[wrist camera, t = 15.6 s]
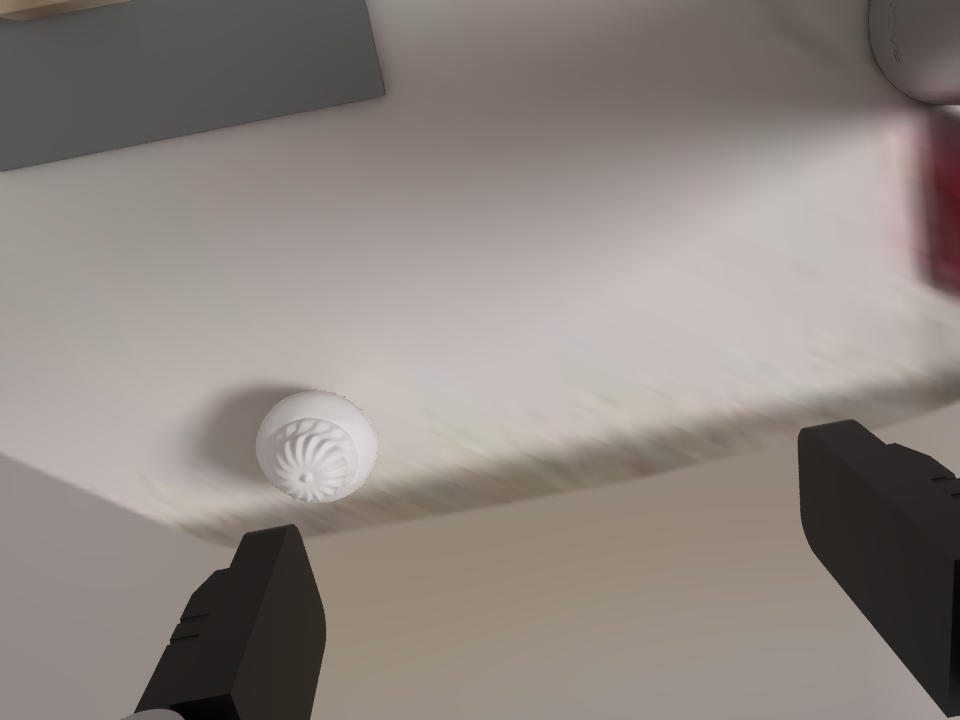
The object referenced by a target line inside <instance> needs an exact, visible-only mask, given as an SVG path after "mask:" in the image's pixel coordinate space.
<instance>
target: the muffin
mask: <svg viewBox="0 0 960 720" xmlns="http://www.w3.org/2000/svg"><path fill="white" fill-rule="evenodd" d="M377 454H378V440H377V435H376V432H375V430H374V427H373V426H372V424H371V422H370V421H369V419H368V417H367V416H366V415H365V414H364V412H363V410H362V409H360V408H359V407H358V406H357V405H356V403H355V402H352V401H350V400H348V399H347V397H346V396H344V397H342V396H340V395H338V393H337V392H335V393H332V392H328V391H327V390H325V391H319V390H317V389H315V390H314V391H310V390H307V391H305V392H300V393H296V394H293V395H290V396H288V397H286V398H284V399H283V400H281V401H280V402H278V403H277V404H276V405H275V406H274V407H273V408H272V409H271V410H270V411H269V412H268V414H267V415H266V417H265V418H264V420H263V422H262V424H261V426H260V428H259V431H258V434H257V438H256V456H257V460H258V463H259V465H260V467H261V470H262V471H263V473H264V475H265V476H266V477H267V479H268V480H269V481H270V482H271V483H272V484H273V485H274V486H275V487H276V488H278V489H279V490H280V491H282V492H284V493H286V494H288V495H290V496H291V497H292V498H293V499H300V500H303V501H305V502H306V503H308V502H314V503H325V502H331V501H335V500H338V499H341V498H343V497H345V496H347V495H349V494H351V493H352V492H354V491H355V490H357V489H358V488H359V487H360V486H361V485H362V484H363V483H364V482H365V481H366V480H367V478H368V477H369V475H370V473H371V471H372V469H373V467H374V465H375V462H376V458H377Z"/></svg>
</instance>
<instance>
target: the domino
mask: <svg viewBox="0 0 960 720" xmlns="http://www.w3.org/2000/svg"><path fill="white" fill-rule="evenodd" d="M126 1H131V0H0V17H1V18H7V19H12V20H18V21H25V20H31V19H36V18H41V17H47V16H52V15H57V14H62V13H68V12H73V11H78V10H84V9H89V8H94V7H99V6H105V5H110V4H115V3H121V2H126Z"/></svg>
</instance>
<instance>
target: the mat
mask: <svg viewBox="0 0 960 720" xmlns="http://www.w3.org/2000/svg"><path fill="white" fill-rule="evenodd" d="M384 95H386V94H385V90H384V85H383V80H382V76H381V71H380V67H379V62H378V57H377V53H376V48H375V43H374V39H373V34H372V30H371V25H370V20H369V16H368V11H367V6H366V2H365V0H131V1H126V2H121V3H115V4H110V5H105V6H99V7H94V8H89V9H84V10H78V11H73V12H68V13H62V14H57V15H52V16H47V17H41V18H36V19H31V20H25V21H18V20H12V19H7V18H1V17H0V172H1V171H6V170H11V169H16V168H21V167H26V166H31V165H36V164H41V163H46V162H51V161H56V160H61V159H66V158H71V157H77V156H82V155H87V154H92V153H97V152H102V151H107V150H112V149H117V148H122V147H127V146H132V145H137V144H142V143H147V142H152V141H157V140H162V139H167V138H172V137H177V136H182V135H188V134H193V133H198V132H203V131H208V130H213V129H218V128H223V127H228V126H233V125H238V124H243V123H248V122H253V121H258V120H263V119H268V118H273V117H278V116H283V115H288V114H294V113H299V112H304V111H309V110H314V109H319V108H324V107H329V106H334V105H339V104H344V103H349V102H354V101H359V100H364V99H369V98H374V97H379V96H384Z"/></svg>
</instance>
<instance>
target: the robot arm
mask: <svg viewBox="0 0 960 720" xmlns="http://www.w3.org/2000/svg"><path fill="white" fill-rule="evenodd" d="M869 31H870V40H871V45H872V48H873V51H874V55H875V58H876V61H877V63H878V65H879V66H880V68H881V70H882V71H883V73H884V74H885V76H886V78H887V79H888V80H889V81H890V82H891V83H892V84H893V85H894V86H895V87H896V88H897V89H898V90H899V91H901V92H903V93H904V94H906V95H908V96H910V97H911V98H913V99H915V100H918V101H922V102H926V103H930V104H939V105H960V0H871V2H870V13H869ZM798 462H799V463H798V464H799V488H800V512H801V521H802V526H803V529H804V533H805V536H806V538H807V541H808V543H809V545H810V547H811V549H812V551H813V552H814V554H815V555H816V557H817V558H818V559H819V560H820V561H821V563H822V564H823V565H824V566H825V567H826V569H827V570H828V571H829V573H830V574H831V575H832V576H833V577H834V579H835V580H836V581H837V582H838V583H839V585H840V586H841V587H842V588H843V590H844V591H845V592H846V593H847V595H848V596H849V597H850V598H851V600H852V601H853V602H854V603H855V605H856V606H857V607H858V608H859V609H860V610H861V612H862V613H863V614H864V615H865V617H866V618H867V619H868V620H869V621H870V623H871V624H872V625H873V627H874V628H875V629H876V630H877V632H878V633H879V634H880V635H881V636H882V638H883V639H884V640H885V641H886V643H888V645H889V646H890V648H892V650H893V651H894V652H895V654H896V655H897V656H898V657H899V659H900V660H901V661H902V662H903V664H904V665H905V666H906V667H907V668H908V670H909V671H910V672H911V673H912V674H913V676H914V677H915V678H916V679H917V681H918V682H919V683H920V684H921V686H922V687H923V688H924V689H925V690H926V692H927V693H928V694H929V695H930V697H931V698H932V699H933V700H934V702H935V703H936V704H937V705H938V707H939V708H940V709H941V710H942V711H943V713H944V714H945V715H946V716H947V718H949V717H954V716H960V478H958V479H956V477H955V474H954V473H952V472H951V471H950V470H948V469H947V468H946V467H944V466H943V465H941V464H940V463H939V462H937V461H936V460H935V459H933V458H932V457H931V456H928V455H926V454H923V453H920V452H918V451H915V450H912V449H910V448H907V447H904V446H902V445H899V444H896V443H894V444H888V445H886V444H885V443H884V442H882V441H881V440H880V439H879V438H877V437H876V436H875V435H874V434H872V433H871V432H870V431H868V430H867V429H866V428H865V427H863V426H862V425H861V424H860V423H858V422H857V421H855V420H853V419H848V420H843V421H837V422H832V423H827V424H822V425H816V426H811V427H806V428H803V429H801V431H800V433H799V436H798ZM325 643H326V622H325V614H324V609H323V604H322V601H321V598H320V594H319V591H318V588H317V585H316V582H315V579H314V575H313V572H312V569H311V567H310V563H309V559H308V556H307V553H306V550H305V547H304V544H303V540H302V537H301V534H300V532H299V530H298V528H297V527H296V526H295V525H294V524H289V525H284V526H279V527H274V528H268V529H263V530H258V531H253V532H248V533H246V534H245V535H244V536H243V538H242V540H241V542H240V545H239V547H238V549H237V552H236V554H235V556H234V558H233V560H232V563H231V565H230V568H227V569H222V570H216V571H215V572H214V573H213V574H212V575H211V576H210V577H209V578H208V579H207V580H206V581H205V582H204V583H203V584H202V585H201V586H200V587H199V588H198V589H197V590H196V591H195V592H194V593H193V594H192V596H191V598H190V600H189V602H188V604H187V606H186V608H185V610H184V612H183V614H182V616H181V618H180V624H177V626H176V628H175V631H174V632H173V634H172V637H171V638H170V645H167V647H166V649H165V651H164V653H163V655H162V657H161V659H160V661H159V663H158V665H157V667H156V669H155V671H154V673H153V675H152V677H151V679H150V681H149V683H148V685H147V687H146V689H145V691H144V693H143V696H142V697H141V699H140V701H139V703H138V706H137V708H136V710H135V712H134V714H132V715H130V716H127V717H125V718H123V719H121V720H310V716H311V712H312V707H313V702H314V697H315V693H316V688H317V683H318V677H319V673H320V668H321V663H322V658H323V654H324V649H325Z"/></svg>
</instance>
